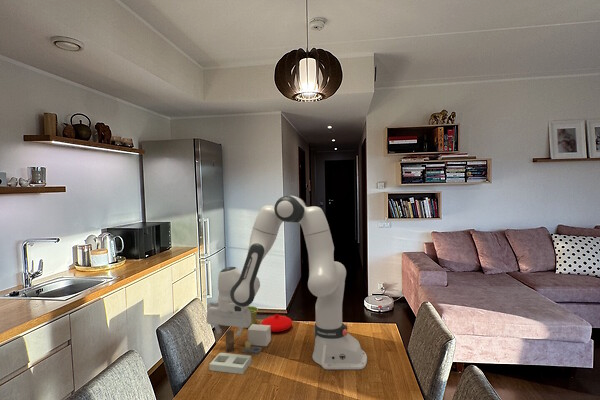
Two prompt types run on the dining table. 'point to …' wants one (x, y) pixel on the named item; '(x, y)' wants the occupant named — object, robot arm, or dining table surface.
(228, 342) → the peg
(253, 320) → the plant pot
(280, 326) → the red domed lid
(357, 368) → the robot arm
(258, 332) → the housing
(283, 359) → the dining table surface
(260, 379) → the dining table surface
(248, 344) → the plate
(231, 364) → the peg board
